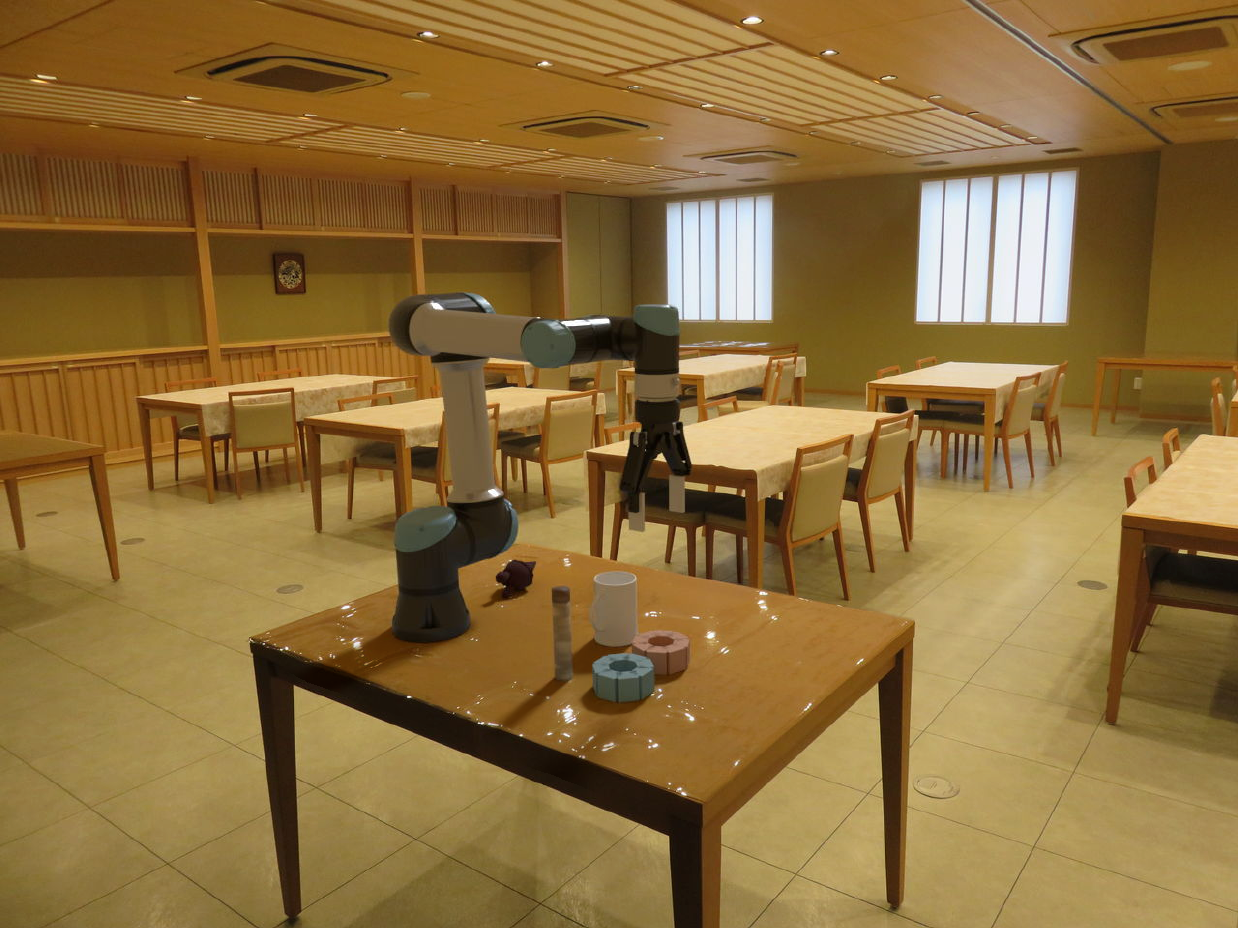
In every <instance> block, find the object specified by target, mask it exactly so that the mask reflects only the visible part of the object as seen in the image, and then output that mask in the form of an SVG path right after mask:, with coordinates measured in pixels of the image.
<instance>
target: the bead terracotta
mask: <svg viewBox="0 0 1238 928" xmlns="http://www.w3.org/2000/svg"><path fill="white" fill-rule="evenodd" d="M690 640H691V639H690V638H689V637H688V636H686V635H685V634H682V633H680V632H679V631H676V632H675V631H674V630H661V629H660V630H659V629H656V630H653V629H652V630H649V631H645V632H641V633H638V635H637V636H635V638H634V640H633V642H632V644H631V653H632V654H636V655H640V656H644V657H647V659H650V661H651V662H652V664H653V666H654V675H663V676H666V675H667V674H668V675H673V674H676V673H679V672H682V671H685V670H686V669H688V667H689V664H690V661H691V657H690V656H691V650H690V649H691V645H690V644H691V641H690Z"/></svg>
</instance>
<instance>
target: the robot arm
mask: <svg viewBox="0 0 1238 928" xmlns="http://www.w3.org/2000/svg"><path fill="white" fill-rule="evenodd" d="M679 314H680V313H679V309H678V307H677V306H675V305H674V304H663V303H662V304H661V303H660V304H653V303H652V304H638V305H636V306H634V309H633V314H632V315H631V316H627V315H626V316H624V315H623V316H621V315H605V314H592V315H585V316H583V317H576V318H550V317H549V318H548V317H535V316H533V317H532V316H520V315H513V314H512V315H510V314H499V313H496V310H495V309H494V307H493V306H492V305H491V304H490V303H489V302H488V301H487V299H485V298H484V297H483V296H482V295H480V294H477V293H469V292H458V291H457V292H449V293H448V292H447V293H446V292H445V293H431V294H429V293H428V294H424V293H422V294H419V293H418V294H413V295H410V296H407V297H405V298H404V299H401V300H400V301H398V302H397V304H395V306H394V307H393V309H392V310H391V312H390V314H389V318H388V325H387V327H388V332H389V333H388V334H389V336H390V338H391V341H392V342H393V343H394V345H395V347H397V348H398V349H399V350H400V351H402V352H403V353H405V354H408V355H411V356H417V357H420V356H421V357H426V356H427V357H430V365H431V366H432V367H434V368H435V369H436V370H438V372H439V377H440V386H441V387H440V388H441V392H442V393H441V395H442V402H443V403H442V404H443V412H444V422H445V431H446V437H447V438H446V440H447V449H448V456H449V457H448V458H449V459H448V460H449V467H450V477H451V485H452V489H451V490H452V491H451V492H450V493H449V494H448V496H447V497H446V498H445V499H446V506H444V505H429V506H428V507H424V506H423V507H420V508H416V509H413V510H411V511H408V512H406V513H404V514H403V515H401V516H400V517H399V518H398V519H397V520H396V522H395V525H394V540H393V544H394V548H395V559H396V561H395V562H396V572H397V584H398V585H397V586H398V587H397V588H398V595H397V599H396V600H397V601H396V605H395V610H394V615H393V616H392V619H391V628H392V629H391V630H392V631H391V632H392V634H393V636H395V637H396V638H398V639H400V640H402V641H404V642H405V641H406V642H411V643H431V642H441V641H445V640H449V639H453V638H455V637H458V636H460V635H462V634H463V633H465V632H466V631H467V630H469V628H470V626H471V613H470V610H469V609H468V607H467V605H466V601H465V598H464V595H463V594H462V591H461V589H460V582H459V581H460V578H459V569H461V568H462V569H463V568H465V567H468V566H471V565H473V564H476V563H479V562H481V561H485V560H490V559H493V558H496V557H497V556H499V555H501V554H503V553H506V552H507V551H509V549H510V548H511V547H512V546H513V545H514V543H515V542H516V540H517V538H518V535H519V517H518V513H517V512H516V509H515V508H513V504H512V503H511V502H510V501H509V500H508V499H506V498H505V497H504V491H503V490H502V489H500V488H499V487H497V485H496V480H495V473H494V472H495V471H494V462H493V452H492V444H491V442H492V441H491V430H490V423H489V422H490V421H489V414H488V413H489V412H488V404H487V395H486V384H485V374H484V368H485V367H486V365H487V364H488V362H489V361H490V359H499V360H507V361H514V362H515V361H516V362H523V363H529V364H530V365H531V366H533V367H534V368H536V369H552V370H553V369H554V370H555V369H558V368H561V367H562V368H563V367H567V366H573V365H582V364H590V363H597V362H605V361H627V362H633V364H634V365H633V366H634V368H633V369H634V377H633V378H634V382H633V383H634V385H633V386H634V389H633V390H634V391H633V392H634V397H636V398H637V399H635V401H634V420H635V421H636V422H637V423H640V425H641V429H640V432H637V431H631V432H630V434H629V440H628V441H629V444H628V450H627V454H626V458H625V461H624V466H623V471H622V475H621V479H620V484H619V491H621V492H623V493H627V508H628V509H627V510H628V531H633V532H634V531H635V532H641V533H644V532H645V531H646V508H645V507H646V506H645V505H646V501H645V499H646V496H645V495H646V492H643V489H644V486H645V483H646V481H647V478H648V475H649V473H650V469H651V468H652V465H653V462H654V460H656V459H657V458H658V456H659V455H661V454H662V456H663V458H664V460H665V462H666V463H667V466H668V467H669V469H670V471H671V473H672V474H669V477H668V478H669V479H668V480H669V481H668V485H669V488H668V489H669V490H668V491H669V495H668V496H669V498H668V499H669V500H668V501H669V503H668V504H669V505H668V506H669V509H668V511H669V512H672V513H673V512H674V513H680V514H683V513H685V512H686V511H685V510H686V508H685V507H686V505H685V504H686V499H685V498H686V495H685V494H686V492H685V491H686V487H685V486H686V485H685V484H686V481H685V480H686V478H685V476H686V477H690V476H691V475H692V474H691V473H692V468H693V464H692V461H691V457H690V453H689V449H688V445H687V441H686V438H685V433H684V422H683V421H680V413H681V411H680V406H681V405H680V402H681V401H680V400H679V399H678V398H677V397H679V396H680V385H681V380H680V342H681V341H680V338H681V329H680V315H679Z"/></svg>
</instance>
